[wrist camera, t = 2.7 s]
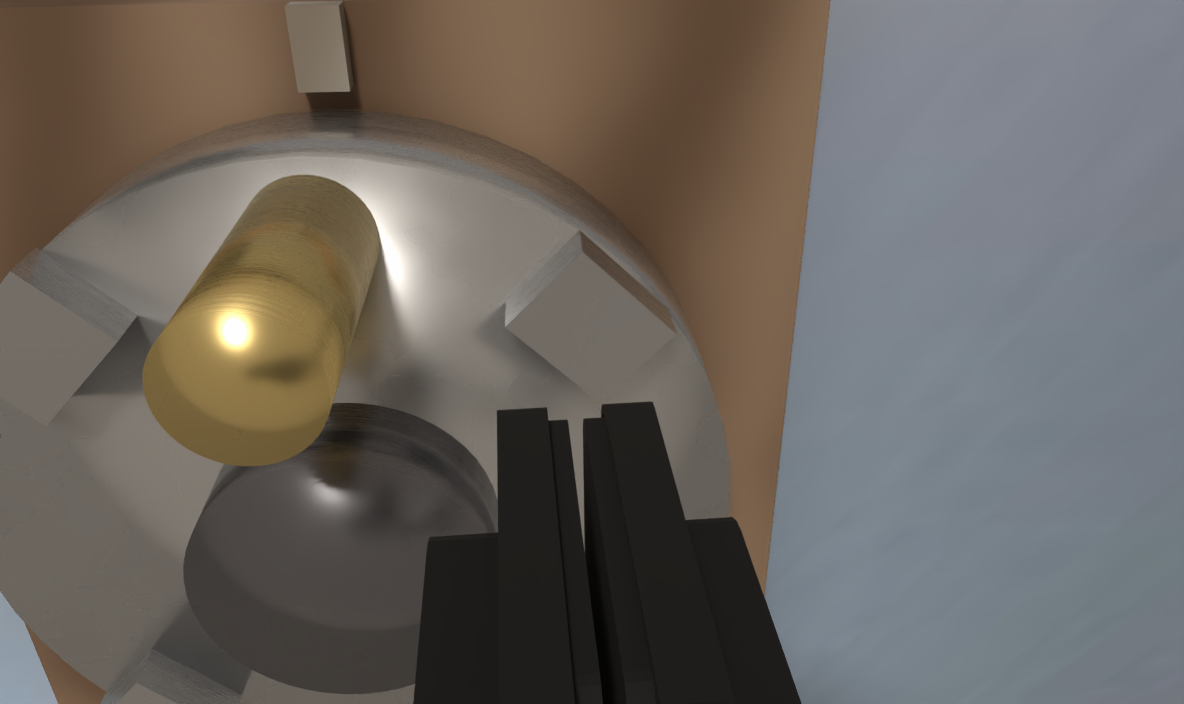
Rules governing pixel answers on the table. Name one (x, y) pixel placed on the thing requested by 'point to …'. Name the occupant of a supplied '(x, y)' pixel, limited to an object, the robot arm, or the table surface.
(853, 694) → the table surface
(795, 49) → the wooden board
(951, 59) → the table surface
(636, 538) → the robot arm
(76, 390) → the lugged metal disc
